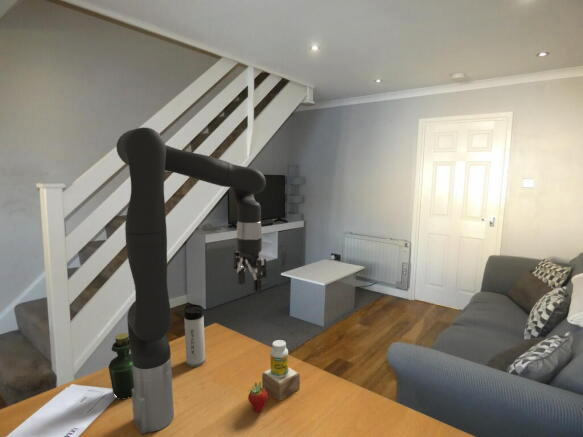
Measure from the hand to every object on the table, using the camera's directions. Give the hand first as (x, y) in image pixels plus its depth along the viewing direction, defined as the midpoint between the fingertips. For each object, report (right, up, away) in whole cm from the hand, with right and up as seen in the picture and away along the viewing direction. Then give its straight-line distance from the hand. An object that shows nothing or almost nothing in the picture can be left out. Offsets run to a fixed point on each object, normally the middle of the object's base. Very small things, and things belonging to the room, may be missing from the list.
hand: (249, 287), depth 106 cm
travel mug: (-20, -28, +12) cm, 37 cm away
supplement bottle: (+9, -25, -3) cm, 27 cm away
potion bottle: (-36, -31, -4) cm, 48 cm away
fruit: (+4, -32, -12) cm, 34 cm away
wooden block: (+10, -30, -2) cm, 32 cm away
